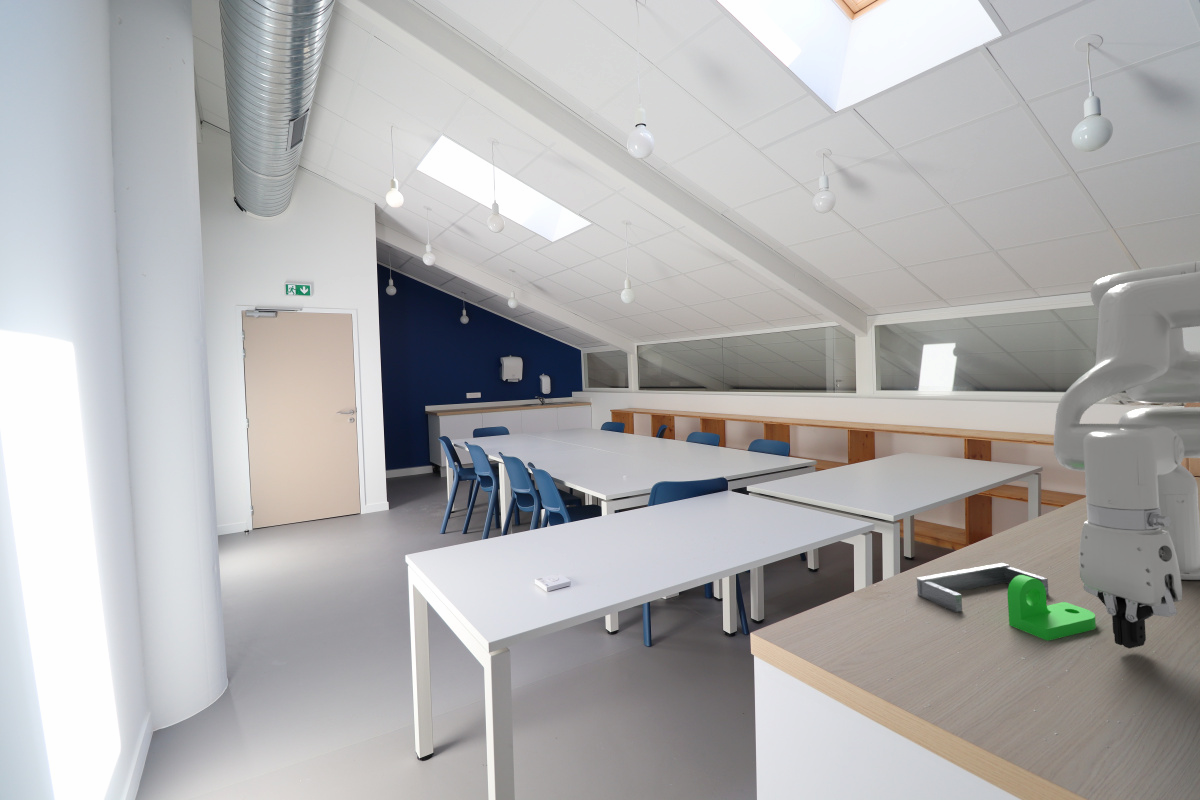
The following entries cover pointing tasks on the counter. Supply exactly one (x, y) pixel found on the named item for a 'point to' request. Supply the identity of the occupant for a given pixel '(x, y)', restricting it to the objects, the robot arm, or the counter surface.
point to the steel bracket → (967, 583)
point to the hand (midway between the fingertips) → (1129, 644)
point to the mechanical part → (1044, 611)
